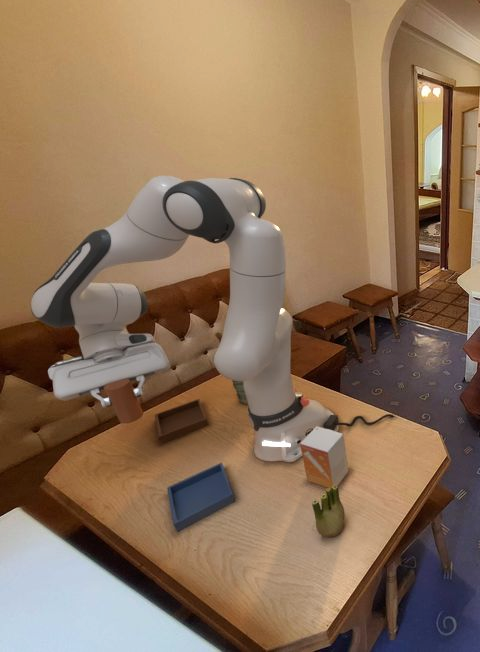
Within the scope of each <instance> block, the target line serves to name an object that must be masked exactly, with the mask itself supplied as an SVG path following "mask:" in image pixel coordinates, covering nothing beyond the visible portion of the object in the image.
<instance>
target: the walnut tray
mask: <svg viewBox="0 0 480 652" xmlns="http://www.w3.org/2000/svg"><path fill="white" fill-rule="evenodd" d="M154 418H155V419H154V420H155V425H156V430H157V431H156V432H157V437H158V440H159V442H160V444H161V445H162V444H165V443H167V442H169V441H172V440H175V439H177V438H180V437H182V436H185V435H187V434H189V433H192V432H194V431H197V430H200V429H202V428H205V427H207V426H209V423H208V419H207V416H206V414H205V411H204V408H203V405H202V403H201V400H200V398H197V399H195V400H191V401H189V402H186V403H183V404H180V405H177V406H174V407H172V408H169V409H166V410H163V411H160V412H157V413H155V414H154Z"/></svg>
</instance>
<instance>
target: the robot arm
mask: <svg viewBox="0 0 480 652" xmlns="http://www.w3.org/2000/svg"><path fill="white" fill-rule="evenodd" d="M266 205H267V203H266V198H265V196H264V194H263V192H262V191H261V189H260V188H259V187H258V186H257V185H256V184H254V183H252V182H251V181H249V180H246V179H244V178H243V179H242V178H238V177H237V178H236V177H229V178H220V177H219V178H218V177H206V178H200V179H195V180H183V179H182V178H178V177H176V176H172V175H158V176H155V177H152V178H151V179H149V181H147V183H146V184H144V186H143V187H142V188H141V189H140V190H139V191H138V193H137V194H136V195H135V197H134V198H133V200H132V201H131V202H130V205H129V206H128V208H127V210H126V212H125V213H124V214H123V215H122V216H121V217H120V218H119V219H118V220H117V221H115V222H114V223H112V224H110V225H107V226H106V227H104V228H102V229H101V228H100V229H98V230H94V231H92V232H90V233H89V234H88V235H87V236H86V237H85V238H84V239H83V240H82V241H81V242H80V243H79V244H78V246H77V247H76V248H75V249H74V250H73V251H72V252H71V254H70V255H69V256H68V257H67V258H66V260H65V261H64V262H63V263H62V264H61V265H60V266H59V268H58V269H57V270H56V271H55V273H53V275H52V276H51V277H50V278H48V279H47V280H46V281H45V282H44V283H42V284H41V285H39V287H37V288H36V290H35V291H34V292H33V294H32V297H31V301H30V310H31V314H32V316H33V317H34V318H35V319H36V320H37V321H39V322H41V323H43V324H45V325H47V326H49V327H52V328H54V329H57V328H66V327H67V328H68V327H74V329H75V330H76V332H77V333H78V335H79V337H78V344H79V347H80V351H81V355H79V356H75V357H71V358H68V359H65V360H59V361H57V362H55V363H54V364H52V365H50V367H49V368H48V370H47V375H48V378H49V380H51V381H52V388H53V395H54V397H55V398H56V399H58V400H60V401H64V402H67V401H71V400H73V399H77V398H81V397H83V396H87V395H90V396H92V397H93V398H95V399H96V400H98V401H100V404H101V407H102V408H103V409H107V408H109V407H112V404H111V402H110V400H109V398H108V397H105V398H104V397H102V396H101V395H103V392H102V391H105V389H104V387H105V385H107V384H108V383H111V382H115V381H118V380H121V379H129V381H130V383H131V382H134V381H137V382H138V385H137V387H136V388H133V390H134V393H135V397H136V398H137V399H138V398H140V397H143V396H145V393H144V388H145V385H146V383H147V380H146V378H149V377H151V376H154V375H158V374H161V373H164V372H168V371H169V370H170V368H171V363H170V360H169V358H168V356H167V354H166V353H165V351H164V349H163V347H162V346H161V345H160V344H159V343H157V341H156V339H155V337H154V336H153V335H152V334H151V333H130V332H129V331H128V329H127V326H128V325H132V324H134V323H135V322H136V321H137V320H140V318H142V317H143V316H144V315H145V314H146V313H147V312H148V309H149V303H148V298H147V296H146V294H145V292H144V291H143V290H142V289H141V288H140V287H139V286H138V285H136V284H133V283H132V284H131V283H119V282H94V280H95V279H96V278H97V277H98V276H99V274H100V273H101V272H103V271H105V270H107V269H109V268H112V267H115V266H121V265H126V264H132V263H143V262H154V261H160V260H165V259H168V258H170V257H172V256H174V255H175V254H176V253H178V252H179V251H180V250H181V249H182V248H183V246H184V245H185V244H186V242H187V240H188V239H189V237H190V236H193V237H197V238H201V239H203V240H204V241H207V242H209V243H212V244H220V243H223V242H224V243H225V244H226V245H227V247H228V252H229V301H228V307H227V312H226V316H225V321H224V325H223V330H222V333H223V335H222V339H221V342H220V343H219V345H218V347H217V349H216V352H215V354H214V357H213V364H214V367H215V369H216V370H217V372H218V373H219V374H220V375H221V376H223V377H224V378H225V379H228V380H230V381H232V380H234V381H244V382H243V387H244V391H245V394H246V398H247V402H248V404H247V405H248V408H247V411H248V418H249V422H250V425H251V427H252V429H253V432H254V445H253V453H254V456H255V457H257V459H259V460H261V461H264V462H284V463H285V462H286V463H294V462H296V461H297V460H299V459H300V458H301V457H303V456H302V451H301V446H300V443H301V442H302V441H303V440H304V439H305V438H306V437H307V436H308V435H309V434H310V433H311V432H312V431H313V430H314V429H315V428H316V427H317V426H318V427H321V428H325V429H329V430H332V431H335V432H339V429H340V426H347V427H351V426H353V425H354V423H355V422H356V420H357V419H361V420H362V422H363V423H364V425H367V426H371V425H375V424H377V423H379V422H380V421H383V420H384V419H385V418H388V417H389V418H394V417H395V415H394V414H390V413H388V414H384V415H382V416H380V417H379V418H377V419H376V420H374V421H371V422H369V421H367V420H366V419H365V418H364V416H362V415H356V416H355V417H354V418H352V421H351V422H350V423H348V422H339V415H337V414H334V413H333V412H332V411H331V410H329V409H328V408H326V407H325V406H324V405H322V404H321V403H320V402H319V401H317V400H315V399H308V398H307V397H305V396H304V394H303V393H302V392H300V391H299V390H298V389H297V388H294V383H293V379H292V373H291V372H292V371H291V370H292V369H291V360H292V359H291V357H292V349H291V348H292V347H291V346H292V345H291V344H292V343H291V339H292V337H291V336H292V329H293V324H294V323H293V322H294V321H293V318H292V315H291V313H289V312H288V311H287V310H286V309H285V308H283V305H284V302H285V293H286V261H287V260H286V248H285V241H284V235H283V232H282V230H281V229H280V228H279V227H278V225H276V224H275V223H273V222H272V221H269V220H266V219H263V218H262V217H263V216H264V214H265V211H266V207H267V206H266ZM393 415H394V416H393Z"/></svg>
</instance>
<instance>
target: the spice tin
mask: <svg viewBox="0 0 480 652" xmlns="http://www.w3.org/2000/svg"><path fill="white" fill-rule="evenodd" d="M104 392H105V394H106V397H107V398H109V400H110V402H111V404H112V406H111V407H112V408H113V411H114V413H115V415H116V417H117V420H118V421H119V423H120V424H123V425H128V424H131V423H133V422H134V423H135V422H136V421H139V420H140V419H142V417H143V416H144V411H143V408H142V406H141V405H140V402H139V399H138V397H137V398H136V397H135V393H134V388H133V385H132V383H131V382H130V381H129V379H121V380H118V381H115V382H111V383H108V384H107V385H105V387H104Z"/></svg>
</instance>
